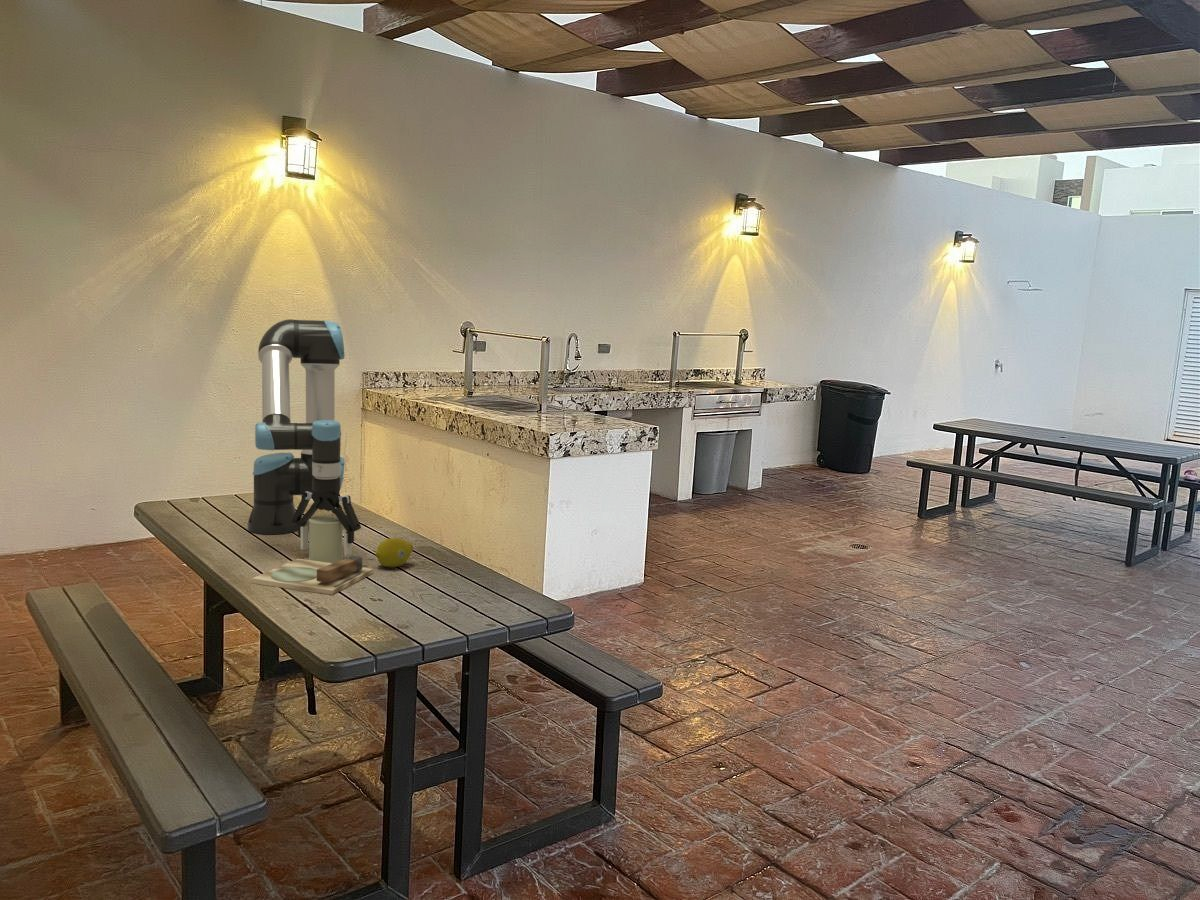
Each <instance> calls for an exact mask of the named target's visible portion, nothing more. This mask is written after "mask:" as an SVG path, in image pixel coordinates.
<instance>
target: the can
mask: <svg viewBox="0 0 1200 900" xmlns="http://www.w3.org/2000/svg"><path fill="white" fill-rule="evenodd" d="M308 523H309V524H308V551H309V553H308V560H312V561H320V562H327V563H336V562H338V561H341V560H344V557H343V556H344V553H343V534H344V532H343V530H344V529H343V528H344V527H343V525H342V524H341V522H340V521H339V519H338V518H337V517H336V515H317V516H312V517H311V518H310V519H309V520H308Z"/></svg>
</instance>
